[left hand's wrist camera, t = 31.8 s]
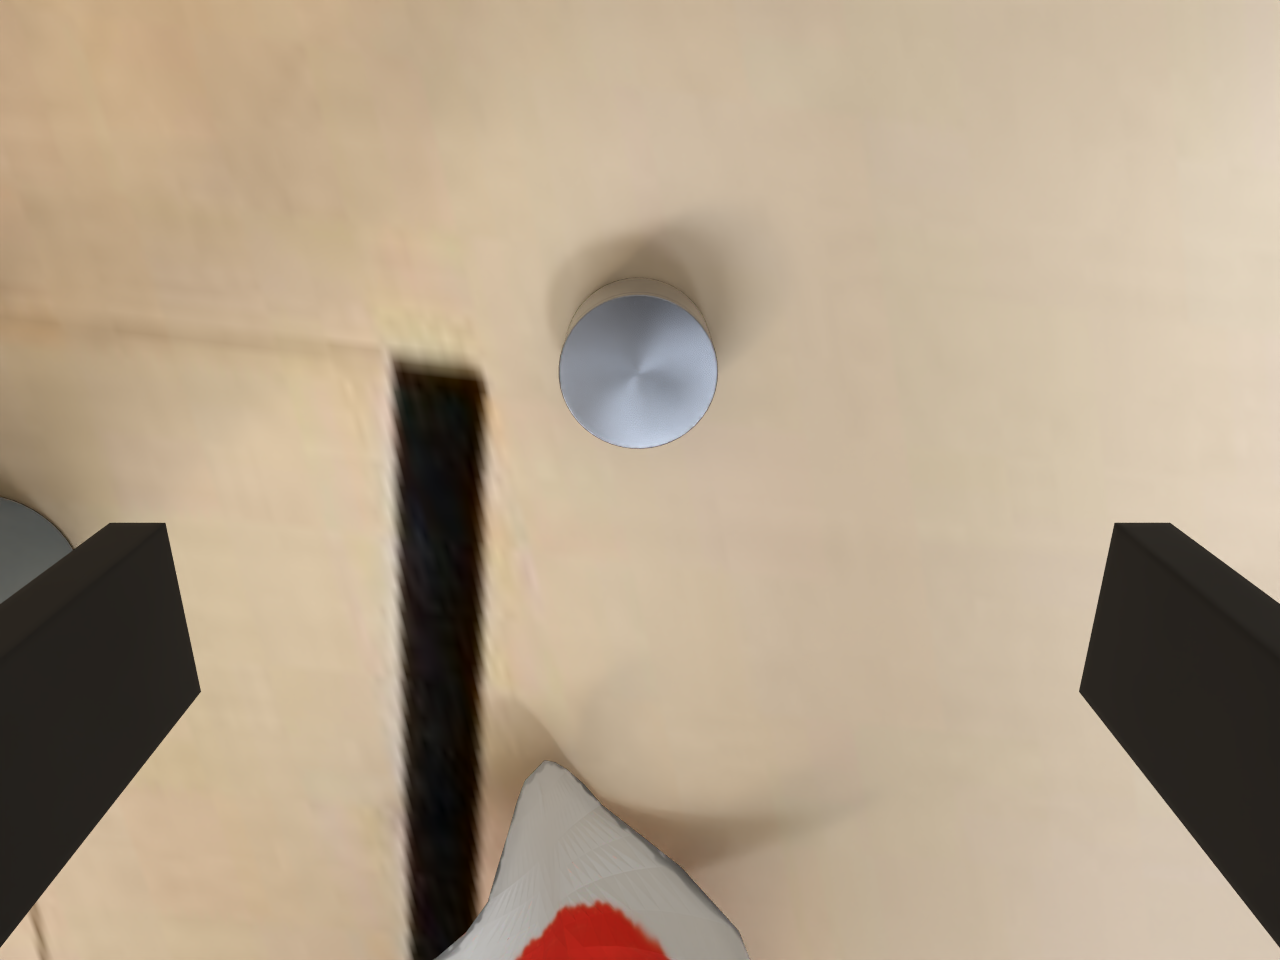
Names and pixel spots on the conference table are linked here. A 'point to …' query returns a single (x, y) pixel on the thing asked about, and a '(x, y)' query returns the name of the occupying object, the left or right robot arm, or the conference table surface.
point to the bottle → (26, 546)
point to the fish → (589, 889)
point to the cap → (638, 364)
